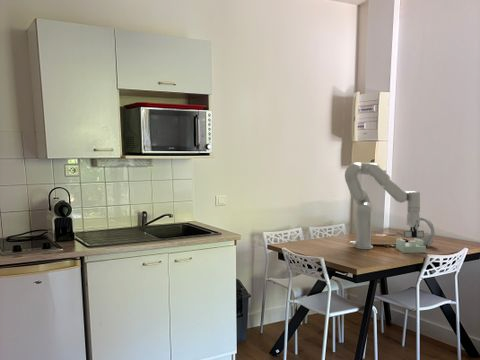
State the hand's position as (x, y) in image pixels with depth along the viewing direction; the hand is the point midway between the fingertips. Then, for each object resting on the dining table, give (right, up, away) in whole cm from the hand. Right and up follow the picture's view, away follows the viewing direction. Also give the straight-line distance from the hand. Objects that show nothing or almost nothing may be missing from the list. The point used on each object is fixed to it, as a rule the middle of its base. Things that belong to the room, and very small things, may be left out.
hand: (413, 236), depth 257 cm
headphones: (+15, -9, +19) cm, 26 cm away
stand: (0, -10, +4) cm, 11 cm away
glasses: (0, 0, +6) cm, 6 cm away
